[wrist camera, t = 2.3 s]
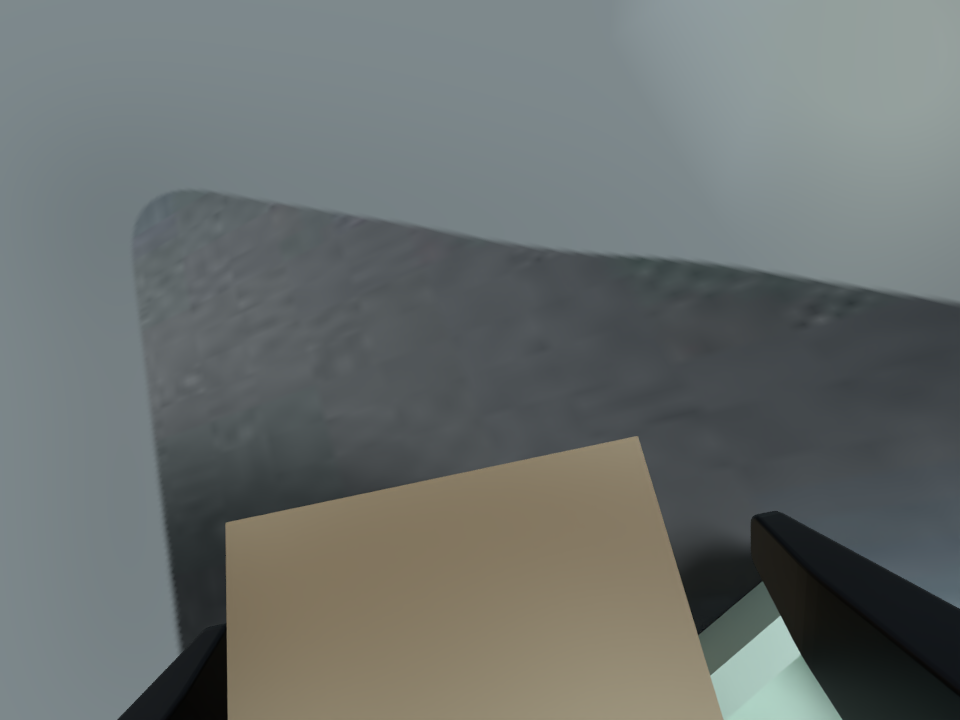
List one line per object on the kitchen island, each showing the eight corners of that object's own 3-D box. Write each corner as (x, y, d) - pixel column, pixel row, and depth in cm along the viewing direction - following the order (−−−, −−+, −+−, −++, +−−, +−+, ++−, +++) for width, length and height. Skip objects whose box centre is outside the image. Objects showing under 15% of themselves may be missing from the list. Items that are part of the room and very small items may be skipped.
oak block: (608, 664, 15) (815, 1025, 3) (468, 691, 15) (232, 1121, 4) (573, 517, 16) (637, 435, 5) (445, 543, 16) (225, 522, 5)
